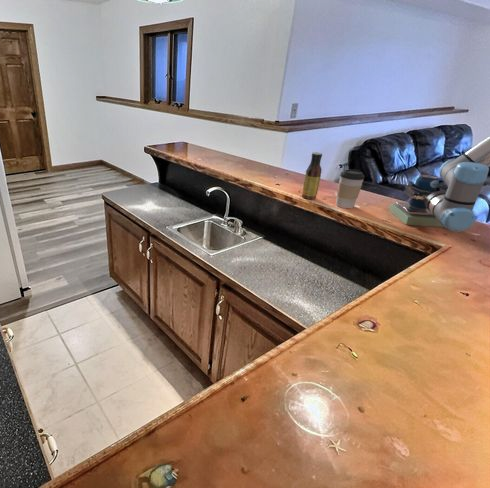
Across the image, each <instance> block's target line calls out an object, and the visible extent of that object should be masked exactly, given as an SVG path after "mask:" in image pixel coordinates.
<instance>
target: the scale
mask: <svg viewBox="0 0 490 488" xmlns="http://www.w3.org/2000/svg"><path fill="white" fill-rule="evenodd" d="M388 211H389V212H390V214H392V215H394V216H395V217H396V218H397V219H398V220H399V221H401V222H402V223H403V224H404V225H407V226H418V227H419V226H420V227H421V226H422V227H435V228H445V227H444V226H443V225H442V224H441V223H440V222H439V220H438V219H437V218H436V217H435V216H434V215H419V214H408V213H407V212H406V211H404V210H403V209H402V208H400V207H399V206H398V205H397V204H396V203H390V206H389V208H388Z"/></svg>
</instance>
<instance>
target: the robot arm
mask: <svg viewBox="0 0 490 488" xmlns="http://www.w3.org/2000/svg"><path fill="white" fill-rule="evenodd" d="M489 167H490V135H489V136H488V137H486V138H485V139H483V140H482V141H481V142H479V143H478V144H476V145H475V146H473V147H472V148H470V149H469V150H467V151H466V152H464V153H463V154H461V155H460V156H458V157H457V158H452V159H448V160H446V161H445V162H443V163H442V164H441V165H440V167H439V171H438V173H439V175H440V176H439V178H440V180H441V182H443V183H445V185H446V186H447V189H445V188H441V187H440V186H438V187H437V189H436V192H429V191H424V190H421V189H419V188H417V187H416V185H415V182H413V181H412V180H408V184H407V185H405V187H404V190H403V193H404V194H405V195H407V197H409V199H410V198H412V200H413V201H415V200H417V199H421V201H423V202H425V206H426V208H427V209H428V210H429V211H430V212H431V213H432V214H433V215H434V216H435V217H436V218H437V219H438V220H439V222H440V223H441V224H442V225H443V226H444V227H443V228H446V229H447V230H449V231H451V232H456V233H457V232H459V233H460V232H463V231H467V230H468V229H470V228H471V227H473V225H474V224H475V223H476V215H475V213H474V211H473V210H474V207H475V205H476V202H477V199H478V198H479V195H480V194H481V191H482V188H483V187H484V184H485V183H486V181H487V179H488V175H489V171H490V168H489Z"/></svg>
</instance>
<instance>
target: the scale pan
mask: <svg viewBox="0 0 490 488" xmlns="http://www.w3.org/2000/svg"><path fill="white" fill-rule="evenodd" d="M395 204H397V205H398V206H399V207H400V208H402V209H403V210H404V211H406V212H407V213H408V214H419V215H433V214H432V213H431V212H430V211H429V210H428V209H416V208H413V207H411V206H410V205H409V202H403V201H396V202H395Z"/></svg>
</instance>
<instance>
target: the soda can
mask: <svg viewBox="0 0 490 488" xmlns="http://www.w3.org/2000/svg"><path fill="white" fill-rule="evenodd" d="M439 179H440V176H438V175H434V174H429V173H421V174H419V176H418V177H417V178H416V179H415V182H414V184H415V185H416V187H417V188H419V189H421V190H424V191H429V192H436V189H437V187H439V184H440V180H439ZM408 203H409V205H410V206H411V207H413V208H416V209H427V208H426V206H425V202H423V201H421V199H417V200H415V201H413V200H412V198H410V197H409V200H408Z"/></svg>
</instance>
